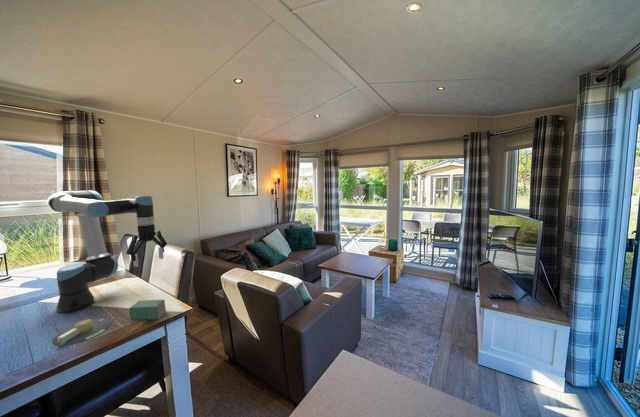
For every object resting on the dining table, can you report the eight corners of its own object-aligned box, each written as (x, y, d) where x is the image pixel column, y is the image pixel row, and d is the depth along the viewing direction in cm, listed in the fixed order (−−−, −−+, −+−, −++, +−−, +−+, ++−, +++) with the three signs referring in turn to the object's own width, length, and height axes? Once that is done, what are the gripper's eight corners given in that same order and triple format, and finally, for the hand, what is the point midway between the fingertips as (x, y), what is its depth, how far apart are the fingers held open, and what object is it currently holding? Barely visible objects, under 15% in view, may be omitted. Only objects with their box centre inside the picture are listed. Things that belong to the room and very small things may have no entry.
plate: (38, 347, 104) (37, 344, 104) (86, 320, 124) (85, 317, 124) (82, 349, 103) (81, 346, 102) (123, 321, 122) (123, 318, 122)
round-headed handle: (84, 326, 116) (83, 319, 116) (96, 327, 116) (95, 319, 115) (52, 345, 103) (51, 337, 103) (65, 346, 103) (64, 337, 102)
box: (139, 313, 130) (138, 300, 129) (166, 312, 131) (165, 299, 130) (130, 321, 123) (128, 307, 122) (158, 320, 124) (157, 306, 123)
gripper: (124, 229, 120) (128, 271, 122) (172, 221, 142) (174, 256, 145) (115, 228, 122) (119, 268, 125) (163, 220, 145) (166, 254, 148)
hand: (149, 262), depth 135 cm, fingers open, 13 cm apart
